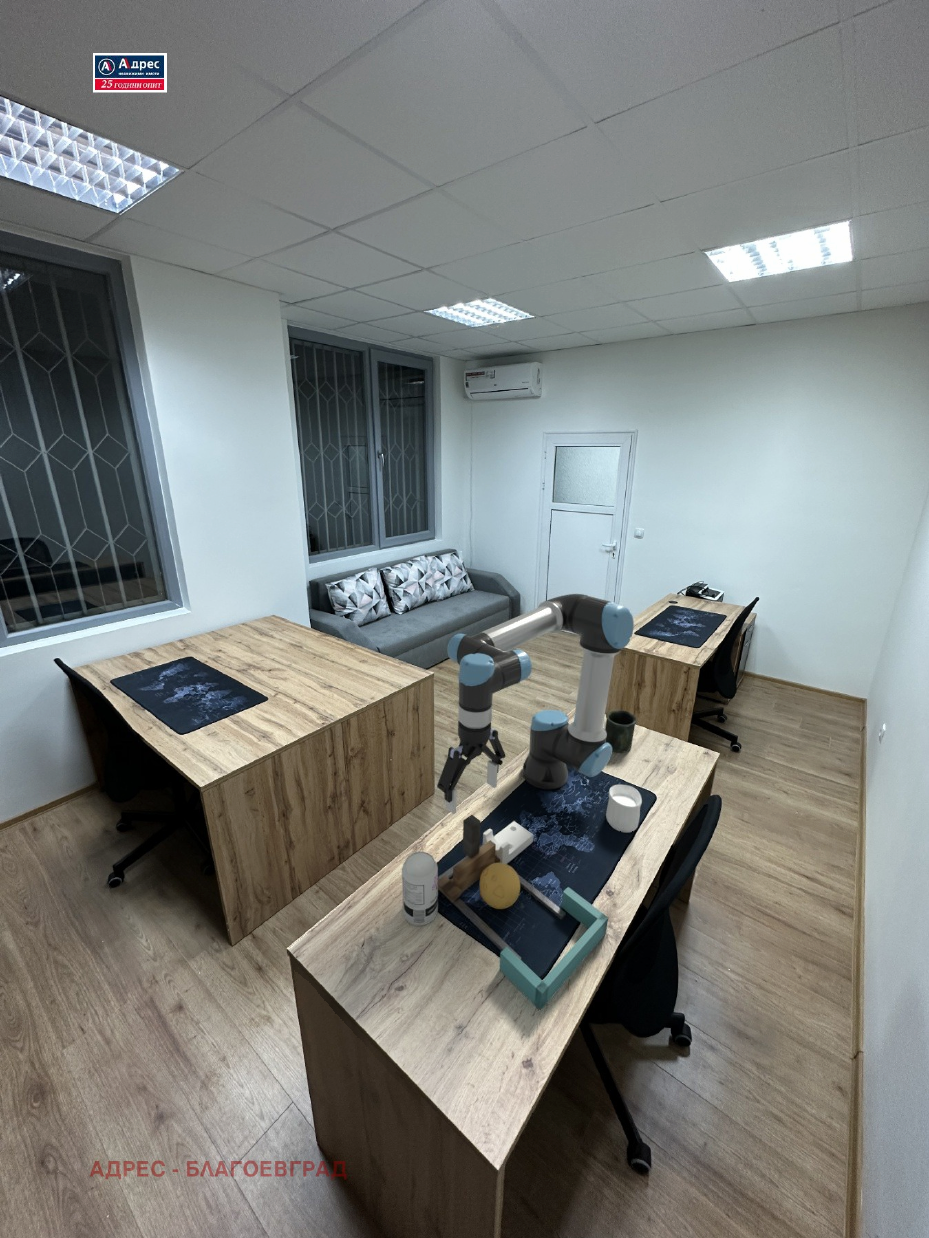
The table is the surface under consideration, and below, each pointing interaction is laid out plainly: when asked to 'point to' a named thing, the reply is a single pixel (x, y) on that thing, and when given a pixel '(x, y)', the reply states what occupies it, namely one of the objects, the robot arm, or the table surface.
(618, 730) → the mug
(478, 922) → the rails
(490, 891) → the stress ball
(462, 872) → the carriage
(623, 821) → the cup
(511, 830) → the bracket
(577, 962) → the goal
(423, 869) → the supplement can
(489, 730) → the robot arm
